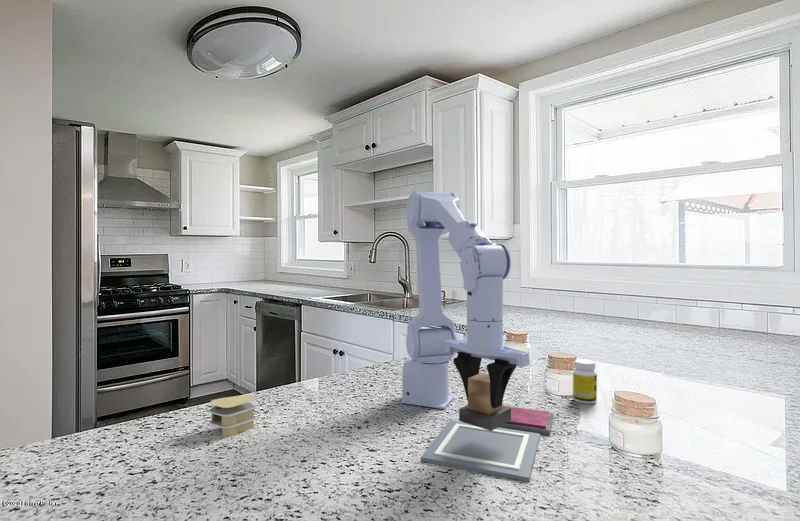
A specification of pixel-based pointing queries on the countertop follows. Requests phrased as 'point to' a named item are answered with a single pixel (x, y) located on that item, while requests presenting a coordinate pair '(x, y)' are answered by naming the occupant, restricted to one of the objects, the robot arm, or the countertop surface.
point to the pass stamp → (482, 405)
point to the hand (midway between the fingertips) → (484, 402)
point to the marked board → (485, 450)
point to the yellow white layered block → (233, 414)
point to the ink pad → (529, 420)
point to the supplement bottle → (585, 382)
